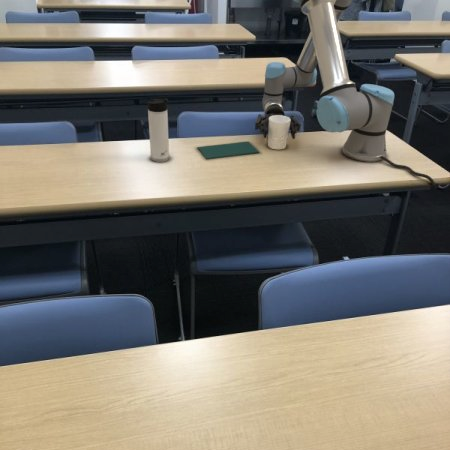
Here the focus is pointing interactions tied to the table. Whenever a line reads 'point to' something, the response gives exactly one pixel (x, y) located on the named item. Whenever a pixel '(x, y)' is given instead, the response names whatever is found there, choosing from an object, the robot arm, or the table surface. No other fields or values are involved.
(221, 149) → the placemat
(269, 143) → the white cup
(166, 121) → the travel mug
